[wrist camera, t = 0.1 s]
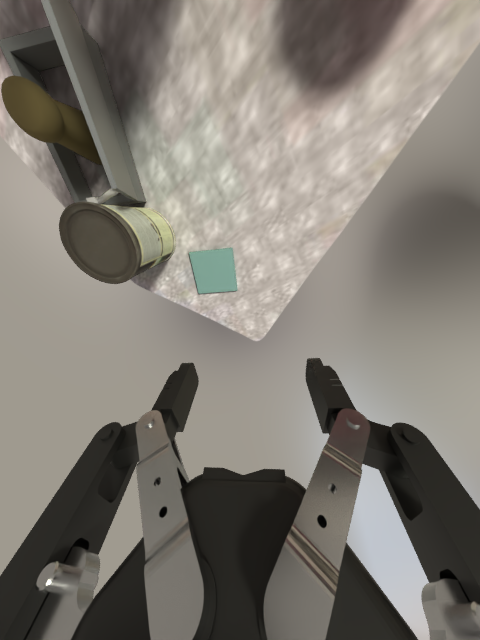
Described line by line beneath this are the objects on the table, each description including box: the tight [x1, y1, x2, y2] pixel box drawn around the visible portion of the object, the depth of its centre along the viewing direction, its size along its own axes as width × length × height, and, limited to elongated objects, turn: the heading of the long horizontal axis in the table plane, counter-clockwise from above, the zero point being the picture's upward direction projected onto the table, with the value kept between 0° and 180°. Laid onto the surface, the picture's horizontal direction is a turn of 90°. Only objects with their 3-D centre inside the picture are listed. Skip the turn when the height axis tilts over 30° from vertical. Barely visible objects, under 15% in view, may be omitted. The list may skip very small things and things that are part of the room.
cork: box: [1, 76, 103, 165], centre depth 24 cm, size 6×6×11 cm
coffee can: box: [59, 201, 175, 284], centre depth 30 cm, size 10×10×14 cm
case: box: [0, 0, 146, 206], centre depth 23 cm, size 18×15×14 cm
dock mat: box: [189, 248, 237, 294], centre depth 38 cm, size 9×9×1 cm
